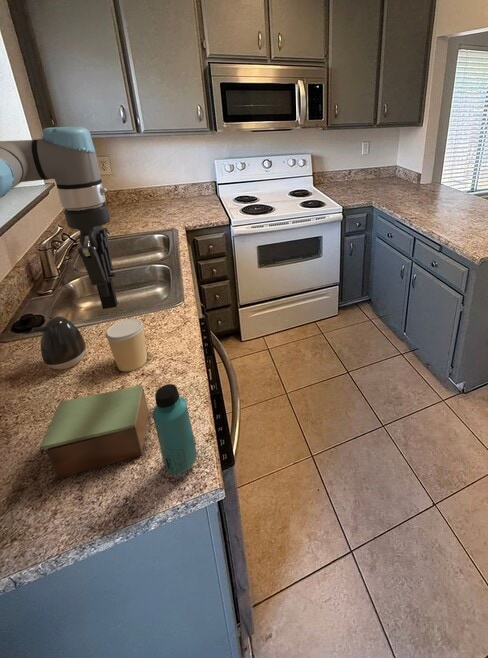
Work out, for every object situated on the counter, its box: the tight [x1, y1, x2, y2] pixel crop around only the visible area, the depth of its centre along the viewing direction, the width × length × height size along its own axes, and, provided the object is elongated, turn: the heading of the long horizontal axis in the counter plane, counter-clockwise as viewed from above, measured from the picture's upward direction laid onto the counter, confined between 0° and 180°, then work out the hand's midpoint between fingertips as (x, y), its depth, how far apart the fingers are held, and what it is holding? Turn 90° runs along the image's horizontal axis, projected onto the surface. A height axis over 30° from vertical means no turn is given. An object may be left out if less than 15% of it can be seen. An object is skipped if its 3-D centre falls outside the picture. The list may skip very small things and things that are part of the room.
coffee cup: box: [105, 318, 148, 372], centre depth 102 cm, size 9×9×12 cm
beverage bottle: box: [152, 383, 198, 475], centre depth 71 cm, size 6×7×20 cm
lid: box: [39, 384, 144, 451], centre depth 76 cm, size 17×12×1 cm
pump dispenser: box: [31, 316, 87, 370], centre depth 101 cm, size 10×10×15 cm
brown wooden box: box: [46, 388, 150, 479], centre depth 78 cm, size 16×12×8 cm
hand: (110, 306), depth 80 cm, fingers closed
